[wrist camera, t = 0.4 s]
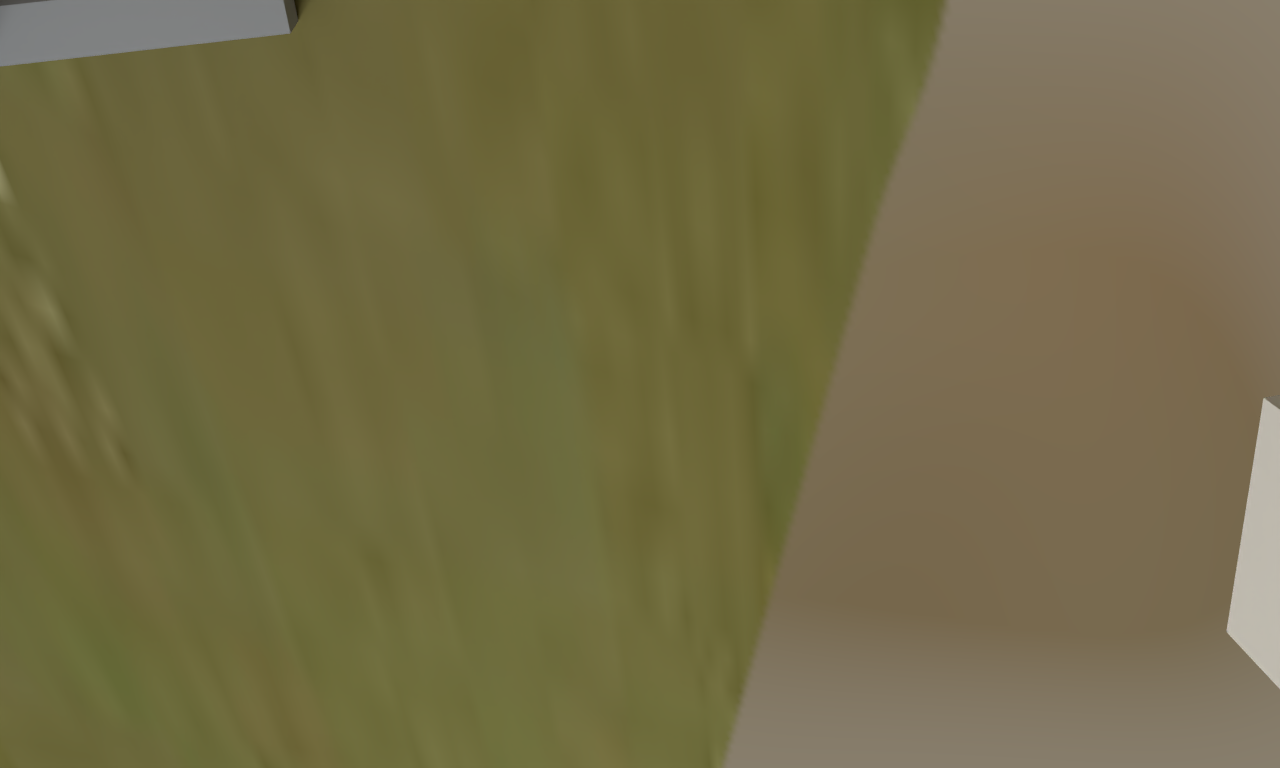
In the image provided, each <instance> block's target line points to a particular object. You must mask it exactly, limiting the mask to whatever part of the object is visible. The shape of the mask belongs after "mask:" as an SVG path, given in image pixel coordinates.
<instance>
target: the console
mask: <svg viewBox="0 0 1280 768" xmlns="http://www.w3.org/2000/svg"><path fill="white" fill-rule="evenodd" d="M297 22H298V17H297V13H296V8H295V3H294V0H0V66H8V65H17V64H26V63H34V62H43V61H52V60H61V59H70V58H78V57H87V56H96V55H105V54H113V53H122V52H131V51H140V50H148V49H157V48H166V47H175V46H184V45H192V44H201V43H210V42H219V41H227V40H236V39H245V38H254V37H262V36H271V35H280V34H289V33H291V32H292V30H293V28H294V27H295V25H296V24H297Z"/></svg>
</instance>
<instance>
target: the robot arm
mask: <svg viewBox="0 0 1280 768" xmlns="http://www.w3.org/2000/svg"><path fill="white" fill-rule="evenodd" d="M1227 633H1228V634H1229V635H1230V636H1231V637H1232V638H1233V639H1234V640H1235V641H1236V643H1237V644H1238V645H1239V646H1240V647H1241V648H1242V649H1243V650H1244V651H1245V652H1246V653H1247V654H1248V655H1249V656H1250V658H1251V659H1252V660H1253V661H1255V663H1256V664H1257V665H1258V666H1259V667H1260V668H1261V669H1262V670H1263V671H1264V672H1265V674H1266V675H1267V676H1268V677H1269V678H1270V679H1271V680H1272V681H1273V682H1274V683H1275V684H1276V685H1277V686H1278V687H1279V688H1280V395H1277V396H1272V397H1266V398H1264V399H1263V406H1262V412H1261V418H1260V425H1259V431H1258V437H1257V443H1256V450H1255V456H1254V463H1253V468H1252V475H1251V481H1250V487H1249V494H1248V500H1247V506H1246V512H1245V519H1244V525H1243V531H1242V538H1241V544H1240V551H1239V556H1238V563H1237V569H1236V576H1235V582H1234V588H1233V594H1232V601H1231V607H1230V614H1229V619H1228V626H1227Z"/></svg>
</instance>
